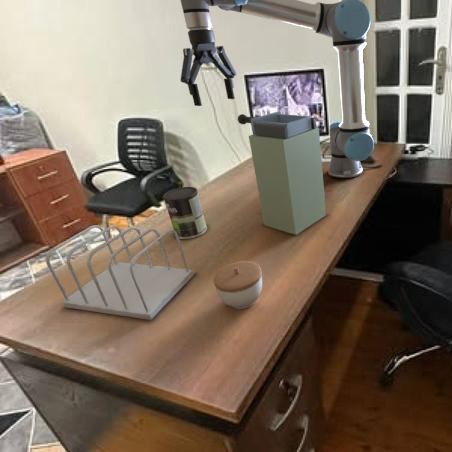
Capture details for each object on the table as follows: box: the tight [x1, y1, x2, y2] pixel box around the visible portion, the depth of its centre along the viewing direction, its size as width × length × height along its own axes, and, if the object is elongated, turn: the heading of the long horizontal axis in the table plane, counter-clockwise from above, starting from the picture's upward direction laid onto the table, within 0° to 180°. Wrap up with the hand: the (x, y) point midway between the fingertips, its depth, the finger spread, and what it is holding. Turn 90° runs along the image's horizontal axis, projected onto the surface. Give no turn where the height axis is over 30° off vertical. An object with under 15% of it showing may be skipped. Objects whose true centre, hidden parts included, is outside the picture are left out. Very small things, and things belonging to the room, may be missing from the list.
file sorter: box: [45, 224, 195, 321], centre depth 86 cm, size 25×17×16 cm
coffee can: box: [162, 186, 208, 240], centre depth 114 cm, size 10×10×14 cm
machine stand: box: [248, 116, 327, 236], centre depth 112 cm, size 14×16×33 cm
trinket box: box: [213, 260, 263, 310], centre depth 81 cm, size 11×11×9 cm
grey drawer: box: [237, 110, 312, 138], centre depth 108 cm, size 26×12×4 cm, turn 54°
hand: (215, 102), depth 117 cm, fingers open, 13 cm apart
